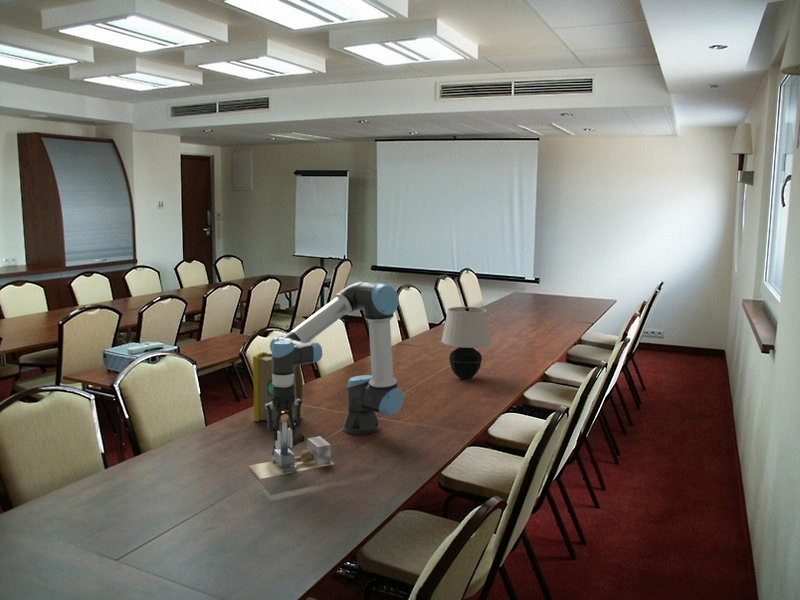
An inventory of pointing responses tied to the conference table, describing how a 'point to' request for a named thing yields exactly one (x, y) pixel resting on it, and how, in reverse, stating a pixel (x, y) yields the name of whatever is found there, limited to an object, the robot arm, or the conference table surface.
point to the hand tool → (295, 440)
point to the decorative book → (270, 386)
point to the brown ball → (306, 456)
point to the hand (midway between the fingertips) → (284, 447)
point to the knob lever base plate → (298, 460)
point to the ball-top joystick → (284, 447)
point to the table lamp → (466, 339)
